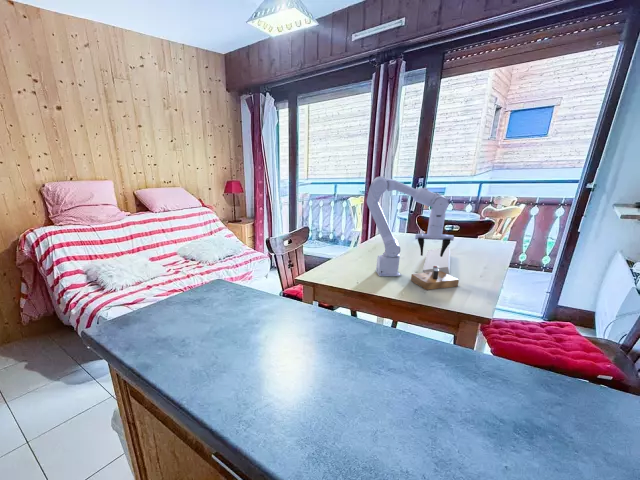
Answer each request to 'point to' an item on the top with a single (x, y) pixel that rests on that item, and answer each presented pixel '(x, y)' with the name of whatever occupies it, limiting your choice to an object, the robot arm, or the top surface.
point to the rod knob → (435, 272)
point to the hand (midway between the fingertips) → (431, 255)
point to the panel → (434, 280)
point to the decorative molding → (437, 261)
